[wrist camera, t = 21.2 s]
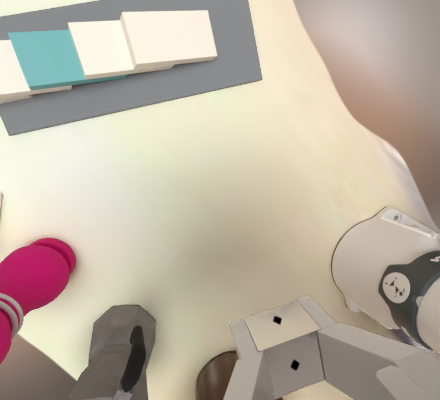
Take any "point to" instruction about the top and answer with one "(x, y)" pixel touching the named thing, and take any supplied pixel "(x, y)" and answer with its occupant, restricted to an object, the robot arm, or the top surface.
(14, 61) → the ivory domino
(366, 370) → the robot arm
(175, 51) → the ivory domino
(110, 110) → the slate mat
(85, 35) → the ivory domino
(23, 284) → the pepper mill
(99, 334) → the coffeepot
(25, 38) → the teal domino
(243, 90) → the top surface
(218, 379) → the plant pot
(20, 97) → the ivory domino
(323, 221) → the top surface
